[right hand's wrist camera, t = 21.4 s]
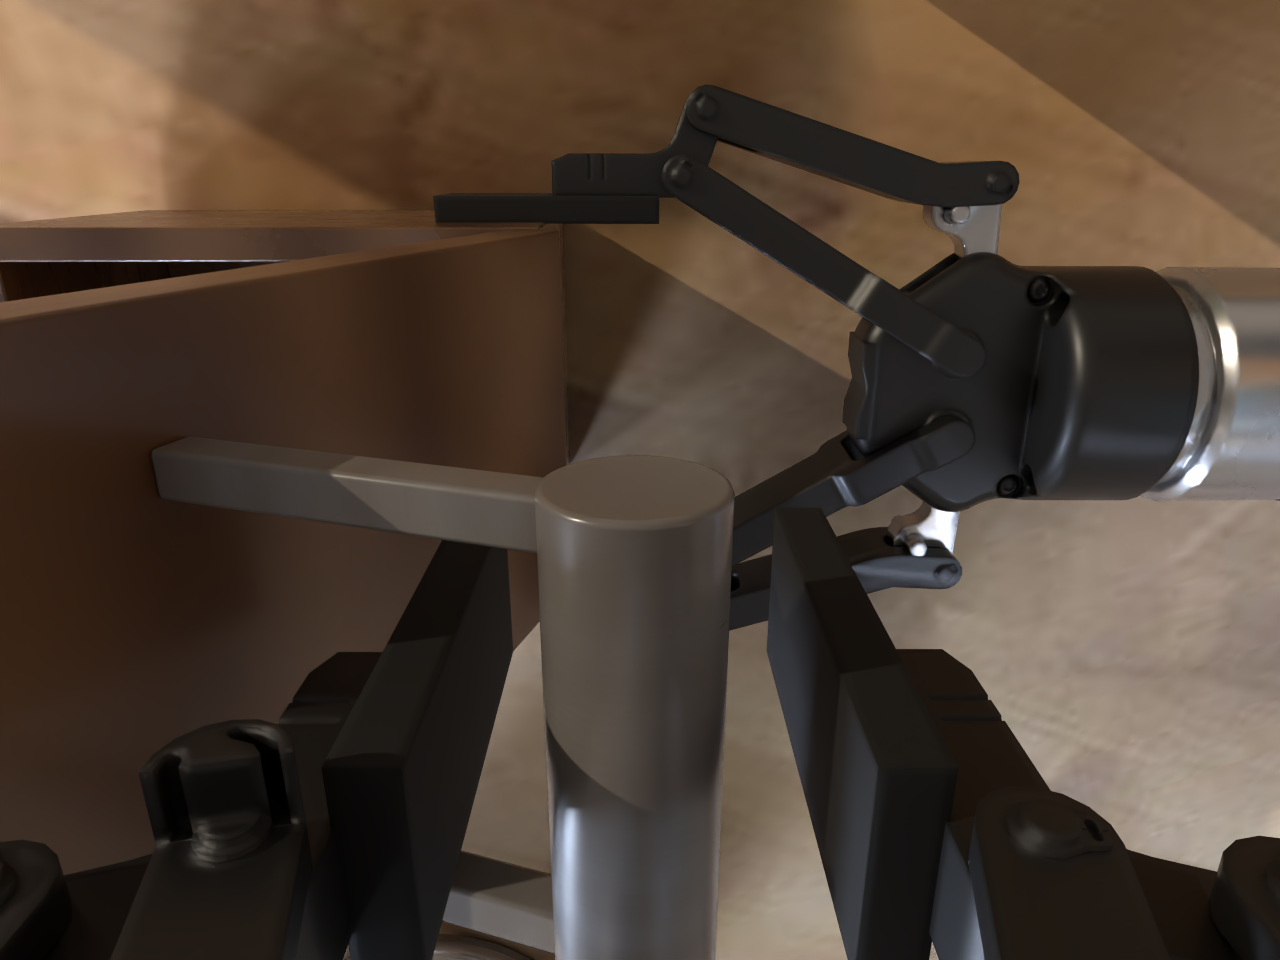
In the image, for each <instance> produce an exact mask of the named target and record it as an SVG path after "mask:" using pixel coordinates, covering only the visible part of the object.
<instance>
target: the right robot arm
mask: <svg viewBox="0 0 1280 960" xmlns="http://www.w3.org/2000/svg"><path fill="white" fill-rule="evenodd" d="M512 653H513V637H512V620H511V603H510V586H509V569H508V552H507V549H502V548H495V547H488V546H481V545H475V544H468V543H461V542H454V541H447V540H442V541H441V543H440V545H439V547H438V549H437V551H436V552H435V554H434V556H433V558H432V560H431V562H430V564H429V566H428V567H427V569H426V571H425V573H424V575H423V577H422V579H421V581H420V583H419V584H418V586H417V588H416V590H415V592H414V594H413V596H412V598H411V600H410V601H409V603H408V605H407V607H406V609H405V611H404V613H403V615H402V616H401V618H400V620H399V622H398V624H397V626H396V628H395V630H394V632H393V633H392V635H391V637H390V639H389V641H388V643H387V645H386V647H385V648H384V650H383V652H337V653H336V654H335V655H333V656H332V657H331V658H329V659H328V660H326V661H325V662H324V663H322V664H321V665H320V666H318V667H317V668H315V669H314V670H313V671H311V672H310V673H309V674H308V676H307V677H306V679H305V680H304V682H303V683H302V685H301V686H300V688H299V689H298V691H297V692H296V694H295V695H294V697H293V702H292V703H289V705H288V706H287V708H286V709H285V711H284V712H283V714H282V715H281V717H280V718H279V724H274V723H271V722H267V721H263V720H260V719H243V720H229V721H224V722H220V723H216V724H211V725H207V726H203V727H201V728H198V729H196V730H194V731H191V732H189V733H187V734H184V735H182V736H180V737H177V738H175V739H174V740H172V741H171V742H170V743H168V744H167V745H165V746H164V747H163V748H161V749H160V750H158V751H157V752H155V753H154V754H153V755H152V756H151V757H150V758H149V760H148V761H147V762H146V764H145V765H144V766H143V767H142V769H141V770H140V771H139V773H138V774H139V778H140V782H141V786H142V790H143V795H144V799H145V803H146V807H147V811H148V815H149V819H150V823H151V827H152V831H153V835H154V839H155V844H156V847H155V849H154V852H153V853H152V854H149V855H145V856H142V857H139V858H135V859H132V860H129V861H124V862H120V863H116V864H111V865H107V866H103V867H98V868H94V869H90V870H85V871H81V872H76V873H72V874H68V875H63V871H62V868H61V865H60V861H59V858H58V855H57V854H56V853H55V852H54V851H52V850H51V849H50V848H49V847H48V846H47V845H46V844H44V843H38V842H33V841H27V840H14V841H6V842H0V960H343V957H344V954H345V952H346V949H347V946H348V944H349V950H350V956H351V960H432V958H433V954H434V951H435V947H436V943H437V939H438V935H439V931H440V928H441V924H442V920H443V916H444V912H445V909H446V905H447V901H448V897H449V893H450V890H451V886H452V882H453V878H454V874H455V870H456V867H457V863H458V859H459V855H460V851H461V848H462V844H463V840H464V836H465V832H466V829H467V825H468V821H469V817H470V813H471V809H472V806H473V802H474V798H475V794H476V790H477V787H478V783H479V779H480V775H481V771H482V768H483V764H484V760H485V756H486V752H487V749H488V745H489V741H490V737H491V733H492V729H493V726H494V722H495V718H496V714H497V710H498V707H499V703H500V699H501V695H502V691H503V688H504V684H505V680H506V676H507V672H508V668H509V665H510V661H511V657H512ZM767 653H768V657H769V661H770V665H771V668H772V672H773V676H774V680H775V684H776V688H777V691H778V695H779V699H780V703H781V707H782V710H783V714H784V718H785V722H786V726H787V729H788V733H789V737H790V741H791V745H792V748H793V752H794V756H795V760H796V764H797V768H798V771H799V775H800V779H801V783H802V787H803V790H804V794H805V798H806V802H807V806H808V809H809V813H810V817H811V821H812V825H813V829H814V832H815V836H816V840H817V844H818V848H819V851H820V855H821V859H822V863H823V867H824V870H825V874H826V878H827V882H828V886H829V890H830V893H831V897H832V901H833V905H834V909H835V912H836V916H837V920H838V924H839V928H840V931H841V935H842V939H843V943H844V947H845V950H846V954H847V958H848V960H929V956H930V950H931V944H932V942H933V945H934V947H935V950H936V953H937V955H938V958H939V960H1280V838H1273V837H1265V836H1255V837H1250V838H1244V839H1239V840H1235V841H1234V842H1233V843H1232V844H1231V845H1230V846H1229V847H1228V848H1227V849H1226V850H1225V851H1223V854H1222V858H1221V861H1220V865H1219V868H1218V871H1217V872H1215V871H1211V870H1207V869H1202V868H1198V867H1194V866H1189V865H1185V864H1180V863H1176V862H1172V861H1167V860H1163V859H1159V858H1154V857H1150V856H1147V855H1144V854H1140V853H1137V852H1134V851H1130V850H1127V849H1126V848H1125V845H1124V843H1123V842H1122V840H1121V839H1120V837H1119V836H1118V834H1117V833H1116V831H1115V830H1114V828H1113V827H1112V826H1111V824H1109V823H1108V822H1107V821H1106V820H1105V819H1103V818H1102V817H1101V816H1100V815H1098V814H1097V813H1096V812H1095V811H1093V810H1092V809H1091V808H1090V807H1088V806H1086V805H1084V804H1082V803H1080V802H1078V801H1076V800H1074V799H1072V798H1070V797H1068V796H1066V795H1064V794H1061V793H1057V792H1053V791H1051V790H1050V789H1049V787H1048V786H1047V784H1046V783H1045V781H1044V780H1043V778H1042V777H1041V775H1040V774H1039V772H1038V771H1037V769H1036V768H1035V766H1034V765H1033V763H1032V762H1031V760H1030V759H1029V757H1028V756H1027V754H1026V753H1025V751H1024V750H1023V748H1022V746H1021V745H1020V743H1019V742H1018V740H1017V739H1016V737H1015V736H1014V734H1013V733H1012V731H1011V730H1010V728H1009V727H1008V725H1007V724H1006V722H1005V721H1002V720H1001V715H1000V713H999V712H998V710H997V709H996V707H995V705H994V704H993V702H992V701H991V700H988V695H987V693H986V692H985V690H984V689H983V687H982V686H981V684H980V683H979V681H978V680H977V678H976V677H975V675H974V674H973V672H972V671H971V670H970V669H969V668H967V667H966V666H965V665H963V664H962V663H960V662H959V661H958V660H956V659H955V658H954V657H952V656H951V655H949V654H948V653H947V652H945V651H944V650H942V649H896V648H895V647H894V645H893V643H892V641H891V639H890V637H889V635H888V633H887V632H886V630H885V628H884V626H883V624H882V622H881V620H880V618H879V616H878V615H877V613H876V611H875V609H874V607H873V605H872V603H871V601H870V599H869V598H868V596H867V594H866V592H865V590H864V588H863V586H862V584H861V583H860V581H859V579H858V577H857V575H856V573H855V571H854V569H853V567H852V566H851V564H850V562H849V560H848V558H847V556H846V554H845V552H844V551H843V549H842V547H841V545H840V543H839V541H838V539H837V537H836V535H835V534H834V532H833V530H832V528H831V526H830V524H829V522H828V520H827V519H826V517H825V515H824V513H823V511H822V509H821V507H775V517H774V535H773V552H772V569H771V586H770V603H769V620H768V637H767Z"/></svg>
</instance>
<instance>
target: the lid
mask: <svg viewBox="0 0 1280 960" xmlns="http://www.w3.org/2000/svg"><path fill="white" fill-rule="evenodd" d="M734 496H735V494H734V491H733V488H732V485H731V483H730V482H729V481H728V479H727V478H725V477H724V476H723V475H722V474H720V473H719V472H717V471H715V470H713V469H711V468H708V467H706V466H703V465H700V464H697V463H693V462H689V461H685V460H680V459H674V458H668V457H659V456H643V455H626V456H611V457H602V458H595V459H590V460H585V461H581V462H577V463H573V464H570V465H567V466H566V439H565V406H564V373H563V340H562V308H561V275H560V242H559V231H558V230H550V229H511V230H504V231H497V232H490V233H483V234H476V235H469V236H462V237H455V238H448V239H441V240H434V241H427V242H420V243H413V244H406V245H399V246H392V247H385V248H378V249H371V250H364V251H357V252H350V253H343V254H336V255H329V256H322V257H315V258H308V259H301V260H294V261H287V262H280V263H273V264H266V265H259V266H252V267H245V268H238V269H231V270H224V271H217V272H210V273H203V274H196V275H189V276H182V277H175V278H168V279H161V280H154V281H147V282H140V283H133V284H126V285H119V286H112V287H105V288H98V289H91V290H84V291H77V292H70V293H63V294H56V295H49V296H42V297H35V298H28V299H21V300H14V301H7V302H0V842H6V841H14V840H27V841H33V842H38V843H44V844H46V845H47V846H48V847H49V848H50V849H51V850H52V851H54V852H55V853H56V854H57V855H58V858H59V861H60V865H61V868H62V871H63V875H68V874H72V873H76V872H81V871H85V870H90V869H94V868H98V867H103V866H107V865H111V864H116V863H120V862H124V861H129V860H132V859H135V858H139V857H142V856H145V855H149V854H152V853H153V852H154V849H155V847H156V844H155V839H154V835H153V831H152V827H151V823H150V819H149V815H148V811H147V807H146V803H145V799H144V795H143V790H142V786H141V782H140V778H139V774H138V773H139V771H140V770H141V769H142V767H143V766H144V765H145V764H146V762H147V761H148V760H149V758H150V757H151V756H152V755H153V754H154V753H155V752H157V751H158V750H160V749H161V748H163V747H164V746H165V745H167V744H168V743H170V742H171V741H172V740H174V739H175V738H177V737H180V736H182V735H184V734H187V733H189V732H191V731H194V730H196V729H198V728H201V727H203V726H207V725H211V724H216V723H220V722H224V721H229V720H243V719H260V720H263V721H267V722H271V723H274V724H279V718H280V717H281V715H282V714H283V712H284V711H285V709H286V708H287V706H288V705H289V703H292V702H293V697H294V695H295V694H296V692H297V691H298V689H299V688H300V686H301V685H302V683H303V682H304V680H305V679H306V677H307V676H308V674H309V673H310V672H311V671H313V670H314V669H315V668H317V667H318V666H320V665H321V664H322V663H324V662H325V661H326V660H328V659H329V658H331V657H332V656H333V655H335V654H336V653H337V652H383V650H384V648H385V647H386V645H387V643H388V641H389V639H390V637H391V635H392V633H393V632H394V630H395V628H396V626H397V624H398V622H399V620H400V618H401V616H402V615H403V613H404V611H405V609H406V607H407V605H408V603H409V601H410V600H411V598H412V596H413V594H414V592H415V590H416V588H417V586H418V584H419V583H420V581H421V579H422V577H423V575H424V573H425V571H426V569H427V567H428V566H429V564H430V562H431V560H432V558H433V556H434V554H435V552H436V551H437V549H438V547H439V545H440V543H441V541H442V540H447V541H454V542H461V543H468V544H475V545H481V546H488V547H495V548H502V549H507V552H508V569H509V586H510V603H511V620H512V637H513V651H514V650H515V649H516V648H517V646H518V645H519V644H520V643H521V642H522V641H523V640H524V639H525V637H526V636H527V635H528V634H529V633H530V632H531V631H532V629H533V628H534V627H535V626H536V625H537V624H538V623H539V622H540V630H541V653H542V675H543V698H544V720H545V743H546V765H547V788H548V810H549V833H550V856H551V874H548V873H544V872H540V871H536V870H533V869H529V868H525V867H521V866H518V865H514V864H510V863H506V862H502V861H499V860H495V859H491V858H487V857H483V856H480V855H476V854H472V853H468V852H465V851H460V855H459V859H458V863H457V867H456V870H455V874H454V878H453V882H452V886H451V890H450V893H449V897H448V901H447V905H446V909H445V912H444V916H443V920H442V921H445V922H448V923H452V924H455V925H458V926H462V927H465V928H469V929H472V930H475V931H479V932H482V933H486V934H489V935H493V936H496V937H499V938H503V939H506V940H510V941H513V942H516V943H520V944H523V945H527V946H530V947H533V948H537V949H540V950H544V951H547V952H550V953H554V954H555V960H715V954H716V930H717V906H718V882H719V858H720V834H721V810H722V785H723V761H724V737H725V713H726V689H727V665H728V641H729V616H730V592H731V568H732V544H733V520H734Z"/></svg>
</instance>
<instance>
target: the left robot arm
mask: <svg viewBox="0 0 1280 960" xmlns="http://www.w3.org/2000/svg"><path fill="white" fill-rule="evenodd" d="M717 141H720V142H723V143H726V144H728V145H731V146H734V147H737V148H740V149H743V150H746V151H749V152H752V153H755V154H758V155H761V156H764V157H767V158H770V159H773V160H776V161H779V162H782V163H785V164H788V165H791V166H794V167H797V168H800V169H803V170H806V171H808V172H811V173H814V174H817V175H820V176H823V177H826V178H829V179H832V180H835V181H838V182H841V183H844V184H847V185H850V186H853V187H856V188H859V189H862V190H865V191H868V192H871V193H874V194H877V195H880V196H883V197H886V198H889V199H893V200H896V201H900V202H907V203H914V204H920V205H923V218H924V221H925V223H926V224H927V226H928V227H929V228H931V229H932V230H935V231H939V232H943V233H945V234H947V235H949V237H950V238H951V239H952V240H953V243H954V248H955V253H953V254H951V255H950V256H948V257H947V258H945V259H944V260H942V261H941V262H939V263H938V264H936V265H935V266H933V267H932V268H930V269H929V270H927V271H926V272H925V273H923V274H922V275H920V276H919V277H917V278H916V279H914V280H913V281H911V282H910V283H908V284H907V285H905V286H904V287H903V288H901V289H900V290H899V289H897V288H895V287H894V286H892V285H891V284H889V283H888V282H886V281H885V280H883V279H881V278H880V277H878V276H877V275H875V274H873V273H871V272H870V271H868V270H867V269H865V268H863V267H862V266H860V265H859V264H857V263H856V262H854V261H853V260H851V259H850V258H848V257H847V256H845V255H843V254H842V253H840V252H839V251H837V250H836V249H834V248H833V247H831V246H830V245H828V244H827V243H825V242H823V241H822V240H820V239H819V238H817V237H816V236H814V235H813V234H811V233H810V232H808V231H807V230H805V229H803V228H802V227H800V226H799V225H797V224H796V223H794V222H793V221H791V220H790V219H788V218H787V217H785V216H783V215H782V214H780V213H779V212H777V211H776V210H774V209H773V208H771V207H770V206H768V205H767V204H765V203H763V202H762V201H760V200H759V199H757V198H756V197H754V196H753V195H751V194H750V193H748V192H747V191H745V190H743V189H742V188H740V187H739V186H737V185H736V184H734V183H733V182H731V181H730V180H728V179H727V178H725V177H723V176H722V175H720V174H719V173H717V172H716V171H714V170H713V169H711V168H710V167H708V163H709V161H710V158H711V155H712V152H713V150H714V147H715V144H716V142H717ZM1018 185H1019V174H1018V172H1017V170H1016V168H1015V167H1014V166H1013V165H1011V164H1010V163H1009V162H1004V161H968V162H948V163H937V162H934V161H932V160H929V159H926V158H923V157H920V156H917V155H914V154H911V153H908V152H905V151H902V150H900V149H897V148H894V147H891V146H888V145H885V144H882V143H879V142H876V141H873V140H870V139H868V138H865V137H862V136H859V135H856V134H853V133H850V132H847V131H844V130H841V129H839V128H836V127H833V126H830V125H827V124H824V123H821V122H818V121H815V120H812V119H809V118H807V117H804V116H801V115H798V114H795V113H792V112H789V111H786V110H783V109H780V108H777V107H775V106H772V105H769V104H766V103H763V102H760V101H757V100H754V99H751V98H748V97H746V96H743V95H740V94H737V93H734V92H731V91H728V90H725V89H722V88H719V87H716V86H712V85H704V86H700V87H698V88H696V89H695V90H694V91H693V92H692V93H691V94H690V95H689V97H688V98H687V100H686V102H685V104H684V106H683V109H682V112H681V115H680V118H679V121H678V124H677V126H676V129H675V132H674V135H673V137H672V139H671V141H670V143H669V144H668V145H667V147H665V148H664V149H663V150H661V151H659V152H656V153H651V154H567V155H564V156H562V157H560V158H557V159H555V160H553V161H552V189H553V194H547V193H451V194H445V195H438V196H433V198H434V211H435V222H544V223H545V224H659V197H675V198H677V199H678V200H680V201H681V202H683V203H685V204H686V205H688V206H689V207H691V208H692V209H694V210H696V211H697V212H699V213H700V214H702V215H703V216H705V217H707V218H708V219H710V220H711V221H713V222H714V223H716V224H718V225H719V226H721V227H722V228H724V229H725V230H727V231H729V232H730V233H732V234H733V235H735V236H736V237H738V238H740V239H741V240H743V241H744V242H746V243H747V244H749V245H751V246H752V247H754V248H755V249H757V250H758V251H760V252H761V253H763V254H765V255H766V256H768V257H769V258H771V259H772V260H774V261H776V262H777V263H779V264H780V265H782V266H783V267H785V268H787V269H788V270H790V271H791V272H793V273H794V274H796V275H798V276H799V277H801V278H802V279H804V280H805V281H807V282H809V283H810V284H812V285H813V286H815V287H816V288H818V289H820V290H821V291H823V292H824V293H826V294H827V295H829V296H831V297H832V298H834V299H835V300H837V301H838V302H840V303H842V304H843V305H845V306H846V307H848V308H849V309H851V310H852V311H854V312H855V313H857V314H859V315H860V316H862V317H863V318H862V319H861V321H860V322H859V324H858V326H857V328H856V331H855V332H850V338H849V350H848V357H849V362H850V367H851V373H852V380H851V383H850V386H849V388H848V391H847V394H846V397H845V399H844V408H843V420H842V422H843V423H844V424H845V426H846V427H847V431H845V432H843V433H841V434H839V435H838V436H836V437H834V438H832V439H830V440H828V441H827V442H825V443H824V444H823V445H822V446H821V447H820V448H819V450H818V451H817V452H816V453H815V454H813V455H812V456H810V457H808V458H806V459H804V460H802V461H801V462H799V463H797V464H795V465H793V466H791V467H790V468H788V469H786V470H784V471H782V472H780V473H779V474H777V475H775V476H773V477H771V478H769V479H768V480H766V481H764V482H762V483H760V484H758V485H757V486H755V487H753V488H751V489H749V490H747V491H746V492H744V493H742V494H740V495H738V496H736V497H734V520H733V544H732V568H731V592H730V616H729V630H733V629H737V628H740V627H744V626H748V625H752V624H755V623H759V622H763V621H767V620H769V603H770V586H771V569H772V554H771V555H767V556H764V557H760V558H757V559H753V560H749V561H746V562H742V563H740V562H741V561H743V560H745V559H747V558H749V557H751V556H753V555H755V554H757V553H758V552H760V551H762V550H764V549H766V548H768V547H770V546H772V545H773V535H774V517H775V507H821V509H822V511H823V513H824V515H825V517H827V516H829V515H830V514H832V513H834V512H836V511H838V510H840V509H842V508H844V507H846V506H860V505H863V504H865V503H868V502H870V501H871V500H873V499H875V498H877V497H879V496H881V495H883V494H885V493H887V492H889V491H890V490H892V489H894V488H896V487H898V486H900V485H903V486H904V487H905V488H907V489H908V490H909V491H911V492H912V493H913V494H915V495H916V496H917V497H919V498H920V499H922V500H923V503H922V505H921V506H920V508H919V509H918V510H916V511H915V512H913V513H911V514H908V515H903V516H902V515H898V516H895V517H894V518H893V519H892V521H891V523H890V525H889V527H879V528H870V529H864V530H859V531H855V532H851V533H848V534H844V535H840V536H837V539H838V541H839V543H840V545H841V547H842V549H843V551H844V552H845V554H846V556H847V558H848V560H849V562H850V564H851V566H852V567H853V569H854V571H855V573H856V575H857V577H858V579H859V581H860V583H861V584H862V586H863V588H864V590H865V592H866V594H868V593H872V592H875V591H879V590H883V589H887V588H890V587H905V588H927V589H947V588H950V587H952V586H954V585H955V584H956V583H957V582H958V581H959V580H960V578H961V575H962V567H961V565H960V563H959V562H958V561H957V559H956V558H955V557H954V556H953V547H954V542H955V536H956V531H957V526H958V521H959V516H960V511H963V510H966V509H968V508H970V507H972V506H974V505H976V504H978V503H981V502H984V501H987V500H991V499H995V498H1009V499H1022V500H1128V499H1132V498H1135V497H1137V496H1141V497H1143V498H1147V499H1151V500H1155V501H1192V500H1280V268H1228V267H1167V268H1164V269H1161V270H1159V271H1156V272H1154V271H1153V270H1151V269H1148V268H1145V267H1136V266H1017V265H1014V264H1012V263H1010V262H1009V261H1007V260H1006V259H1004V258H1003V257H1001V256H999V255H997V249H998V238H999V228H1000V217H1001V206H1002V204H1003V203H1005V202H1007V201H1008V200H1010V199H1011V198H1012V197H1013V195H1014V194H1015V193H1016V191H1017V189H1018ZM345 960H351V956H350V957H348V958H346V959H345ZM432 960H531V959H529V958H527V957H525V956H523V955H521V954H520V953H518V952H515V951H513V950H511V949H508V948H506V947H503V946H500V945H498V944H495V943H492V942H488V941H484V940H480V939H476V938H470V937H465V936H456V935H443V934H439V935H438V939H437V943H436V947H435V951H434V954H433V958H432Z"/></svg>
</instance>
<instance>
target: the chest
mask: <svg viewBox="0 0 1280 960" xmlns="http://www.w3.org/2000/svg"><path fill="white" fill-rule="evenodd" d="M511 229H550V230H558V231H559V242H560V275H561V308H562V340H563V373H564V406H565V439H566V466H567V465H570V462H569V428H568V393H567V359H566V324H565V290H564V255H563V224H545V223H544V222H435V211H434V210H147V211H137V212H124V213H113V214H102V215H91V216H80V217H69V218H58V219H47V220H36V221H25V222H14V223H3V224H0V302H7V301H14V300H21V299H28V298H35V297H42V296H49V295H56V294H63V293H70V292H77V291H84V290H91V289H98V288H105V287H112V286H119V285H126V284H133V283H140V282H147V281H154V280H161V279H168V278H175V277H182V276H189V275H196V274H203V273H210V272H217V271H224V270H231V269H238V268H245V267H252V266H259V265H266V264H273V263H280V262H287V261H294V260H301V259H308V258H315V257H322V256H329V255H336V254H343V253H350V252H357V251H364V250H371V249H378V248H385V247H392V246H399V245H406V244H413V243H420V242H427V241H434V240H441V239H448V238H455V237H462V236H469V235H476V234H483V233H490V232H497V231H504V230H511Z"/></svg>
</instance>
